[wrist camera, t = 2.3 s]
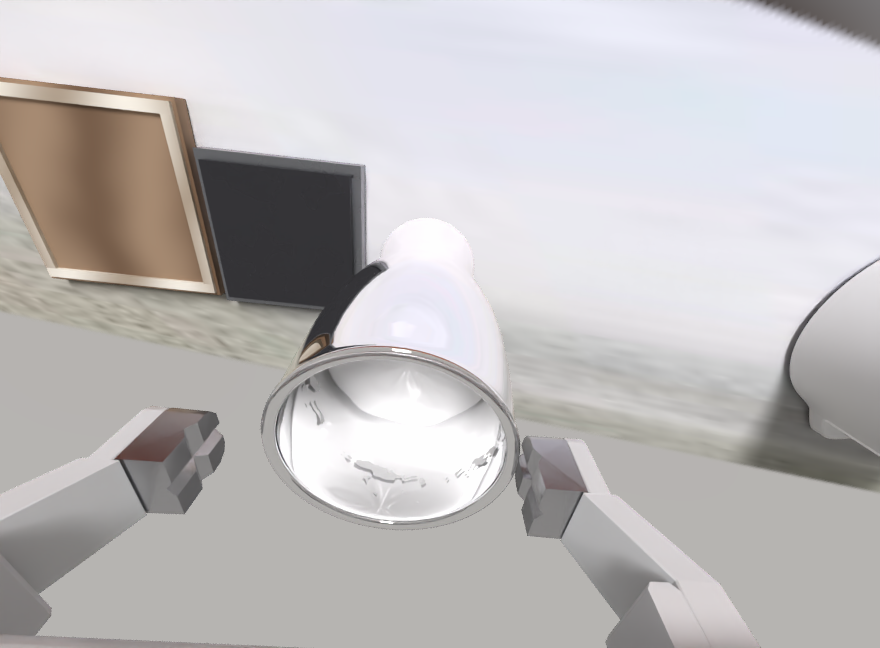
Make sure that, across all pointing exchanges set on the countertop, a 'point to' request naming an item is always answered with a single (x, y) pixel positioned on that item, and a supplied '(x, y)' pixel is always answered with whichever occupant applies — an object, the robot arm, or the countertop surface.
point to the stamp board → (108, 185)
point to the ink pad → (283, 225)
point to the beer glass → (399, 392)
